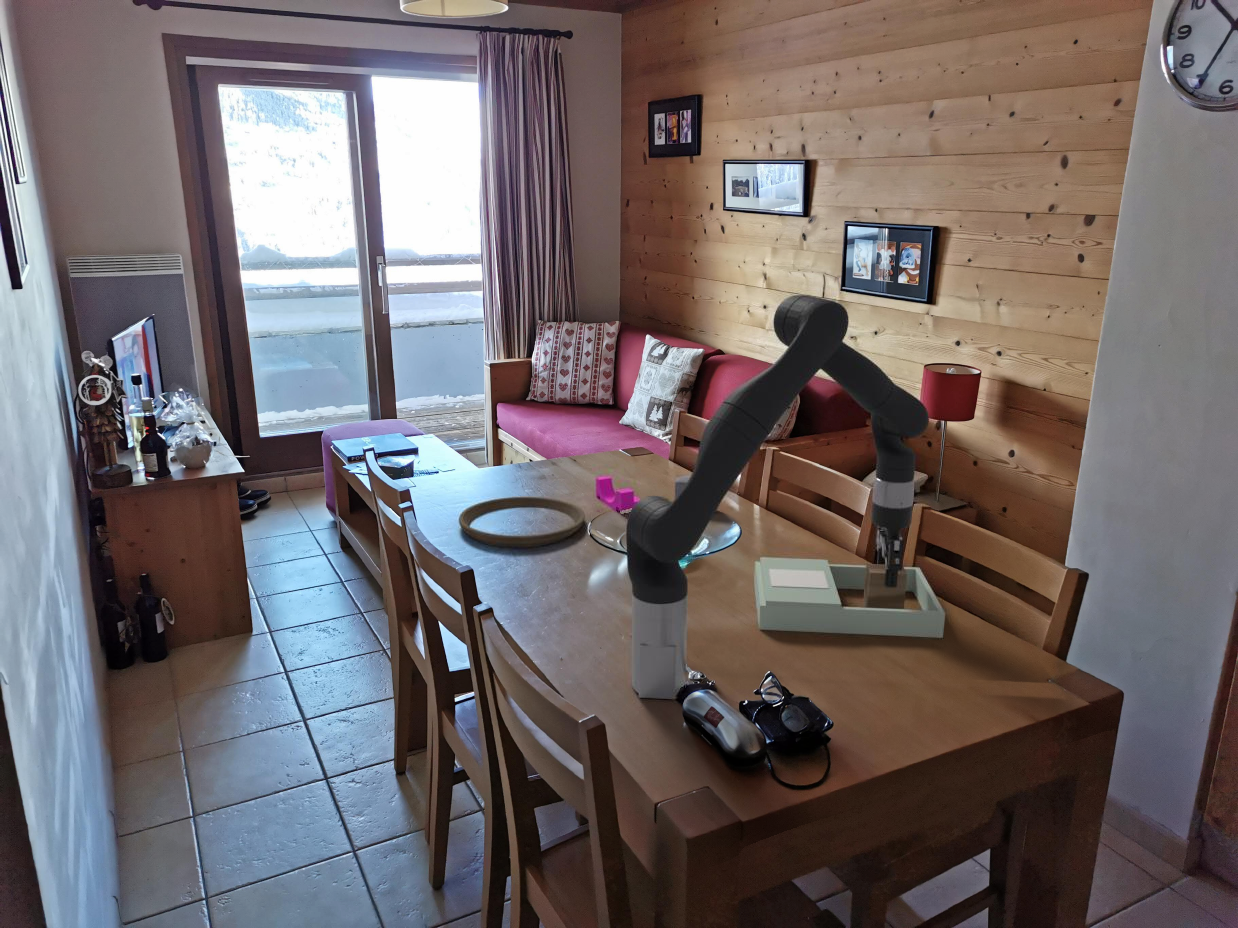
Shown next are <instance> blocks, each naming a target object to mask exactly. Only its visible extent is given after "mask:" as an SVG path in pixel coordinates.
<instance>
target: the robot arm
mask: <svg viewBox="0 0 1238 928" xmlns="http://www.w3.org/2000/svg"><path fill="white" fill-rule="evenodd" d="M774 312H775V313H774V317H773V322H772V323H773V329H774V334H775V335H776V337H777V339H778V340H779V341H780V342H781V343H782V344H783V345H784V346H785V347H787V348H786V350H785V351H784V352H783V354H782V355H781V356H780V357H779V358H778V359H777V360H776V361H775V362H774V363H773V364H772V365H770V366H769V367H768V368H766V369H765V370H763V371H762V372H760V373H759V374H757V375H755V376H754V377H752V378H750V379H749V380H748V381H746V382H744V383H742V384H741V385H739V386H738V387H736V389H734V390H733V391H732V392H731V393H730V394H728V395H727V396H726V398H725V399H724V400H723V402H722V403H721V405H719V407H718V408H717V410H716V411H715V413H714V414H713V415H712V417H711V418H710V419H709V421H708V422H707V424H706V425H705V428H704V429H703V433H702V436H701V439H700V442H699V448H698V452H697V455H696V456H697V458H696V460H695V464H694V468H693V471H692V473H691V475H690V476H691V477H690V479H689V480H688V482H687V483H686V485H685V486H684V488H683V489H682V490H681V492H680V493H679V494H678V496H677V497H676V498H675V497H674V499H673V501H670V500H669V499H667V498H664V497H662V496H658V495H649V496H648V495H647V496H646V497H643V498H640V501H638V502H637V503H636V504H635V505H634V507H633V508H632V510H631V512H630V513H629V514H628V517H627V521H626V531H625V534H626V535H625V540H626V541H625V542H626V561H627V562H626V563H627V565H626V566H627V573H628V577H629V579H630V582H631V588H632V589H631V592H632V593H631V595H632V596H631V598H632V600H631V603H632V604H631V610H632V611H631V686H632V689H633V690H634V691H635V692H636V693H638V698H642V699H643V698H645V699H662V700H663V699H664V700H665V699H666V700H676V699H677V696H678V695H677V693H678V692H679V690H680V688H681V687H683V686H684V685H685V686H686V677H687V676H686V675H687V673H686V672H687V669H686V668H687V633H688V632H687V627H688V591H689V590H688V587H689V585H688V577H687V575H686V573H685V572H684V571H683V568H682V567H681V564H680V563H679V561H681V560H683V559H684V558H686V557H687V556H688V554H690V553H691V551H693V549H694V548H695V546H696V544H697V543H698V542H699V540H700V539H701V537H702V535H703V534H704V532H705V530H706V528H707V527H708V525H709V523H710V521H711V520H712V518H713V516H714V514H716V512H715V511H716V509H717V508H718V506H719V507H720V504H721V502H722V501H723V499H724V498H725V496H726V495H727V493H728V492H729V490H731V488H732V486H733V485H734V483H735V482H736V480H737V479H738V477H739V476H740V475H741V473H742V472H743V470H744V469H745V468H746V466H747V465H748V463H749V462H750V461H751V459H752V458H753V457H754V456H755V455H756V453H757V452H758V451H759V449H760V448H761V447H762V445H763V444H764V442H765V441H766V439H767V438H768V436H769V435H771V432H773V431H772V430H773V429H774V428H775V427H776V425H777V423H778V422H779V420H780V419H781V418H782V416H784V414H785V412H786V411H787V410H788V409H789V407H790V406H791V404H792V403H793V402H794V400H795V399H796V398H797V397H798V396H799V394H800V393H801V392H802V390H803V389H804V388H805V386H806V385H807V384H808V383H809V382H810V381H811V380H812V379H813V378H814V376H815V375H816V374H817V373H818V372H819V371H820V370H821V371H823V372H824V373H825V374H827V376H828V377H830V378H831V379H832V380H833V381H834V382H835V383H837V384H838V385H839V386H840V387H841V388H842V389H843V390H844V391H845V392H846V393H847V394H848V395H849V396H850V397H851V398H852V399H853V400H854V402H856V403H857V404H858V405H859V406H860V407H861V408H862V409H864V410H865V411H866V412H868V413H871V414H870V426H871V428H870V429H871V432H872V433H871V434H872V436H873V437H872V438H873V443H874V448H875V453H876V467H875V479H874V483H873V490H872V500H871V501H872V504H871V513H870V514H871V516H870V521H871V522H872V524H873V525H875V526H876V536H875V541H874V542H875V545H876V550H877V557H876V559H877V561H876V564H885V568H886V571H885V586H886V587H891V588H895V587H896V586H897V578H898V570H902V565H903V557H904V556H903V555H904V545H905V542H904V540H903V535H902V534H901V533H900V531H901V530H902V529H907V528H908V527H910V526H911V525H912V521H913V520H912V519H913V506H914V497H915V496H914V495H915V484H914V483H915V481H914V480H915V471H916V470H915V469H916V454H915V452H914V450H913V449H911V448H910V447H908V446H907V445H906V444H904V443H903V442H902V439H901V438H904V439H916V438H918V437H920V436H922V435H923V434H924V433H925V432H926V430H927V429H928V427H929V422H930V417H929V411H928V409H927V408H926V406H925V405H924V403H923V402H922V401H921V400H919V398H918V397H916V396H914V395H913V394H911V393H910V392H908V391H907V390H905V389H904V388H902V387H900V386H899V385H897V384H896V383H894V381H893V380H892V379H891V378H890V376H889V375H887V374H886V373H885V372H884V371H883V369H881V368H880V367H879V366H878V365H877V364H876V363H875V362H873V361H872V360H871V359H869V358H868V357H866V356H865V355H864V354H862V353H861V352H859V351H857V350H855V348H852V347H851V346H850V345H849V344H847V343H845V342H844V339H845V337H846V335H847V332H848V328H849V313H848V311H847V309H846V307H844V306H843V305H842V304H841V303H839V302H837V301H834V300H831V299H827V298H822V297H816V296H811V295H805V294H796V295H791V296H789V297H786V298H785V299H784V300H782V301H781V302H780V304H779V305H778V306H777V308H776V310H775V311H774ZM718 509H719V508H718ZM718 509H717V510H718ZM894 559H895V563H893V560H894ZM676 695H677V696H676Z"/></svg>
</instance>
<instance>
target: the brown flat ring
mask: <svg viewBox="0 0 1238 928" xmlns="http://www.w3.org/2000/svg"><path fill="white" fill-rule="evenodd" d="M512 508H542V509H547V510H548V509H549V510H553V511H557V512H560V513H562V514H565V515H567V516H569V517H570V518H571V519H572V520H573V524H572V525H570V526H567V527H566V528H562V529H559V530H555V531H552V532H546V533H540V534H531V535H506V534H505V535H504V534H496V533H490V532H486V531H481V530H478V529H475V528H473V527H471V524H472V523H473V522H474V521H475V520H476V519H479V517H481V516H483V515H486V514H488V513H492V512H495V511H499V510H504V509H512ZM585 518H586V515H585V512H584V510H582V508H580V507H579V506H578V505H576V504H573V503H571V502H568V501H564V500H560V499H556V498H555V499H554V498H548V497H540V496H513V497H503V498H502V497H501V498H494V499H490V500H485V501H483V502H478V503H476V504H473V505H471V506H469V507H467V508H466V509H464V510H463V511H462V512H461V513H460V515H459V517H458V522H459V526H460V527H461V529H462V530H463V531H464V532H465V533H466V534H467V535H469V536H470V537H471V539H474V540H476V541H478V542H479V543H482V544H485V545H490V546H495V547H501V548H502V547H503V548H517V549H518V548H519V549H521V548H532V547H539V546H545V545H550V544H554V543H557V542H559V541H562V540H565V539H568V538H569V537H570V536H571V535H573V534H574V533H576V532H577V531H578V530H579V529H580V528H581V527H582V526H583V525H582V524H583V523H584V522H585Z"/></svg>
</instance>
